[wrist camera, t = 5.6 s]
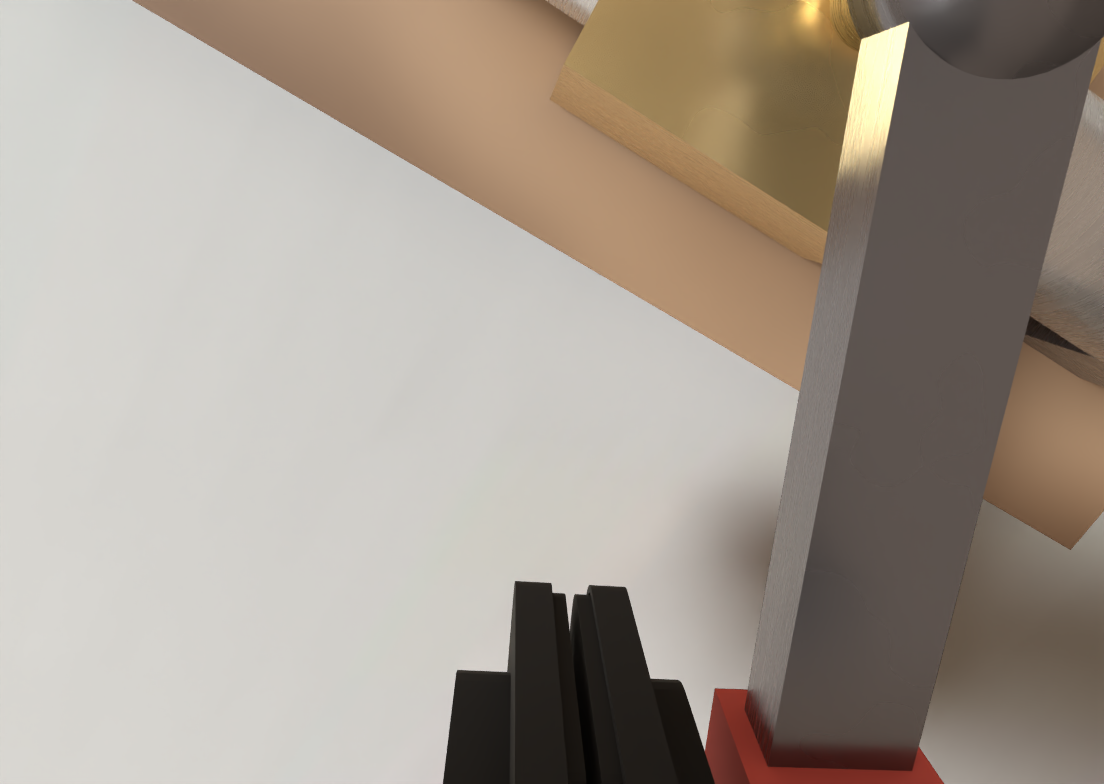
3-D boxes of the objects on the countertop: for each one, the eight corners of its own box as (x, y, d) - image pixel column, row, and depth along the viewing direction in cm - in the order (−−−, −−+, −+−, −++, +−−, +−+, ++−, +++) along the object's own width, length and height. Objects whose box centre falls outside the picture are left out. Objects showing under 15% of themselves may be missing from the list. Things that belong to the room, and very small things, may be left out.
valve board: (259, -627, 13) (-232, -2105, 4) (1312, 177, 17) (2036, 187, 9) (54, -52, 15) (-520, -319, 7) (1030, 521, 20) (1399, 780, 11)
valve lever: (852, -175, 7) (951, -277, 6) (1082, -150, 8) (1246, -243, 6) (672, 955, 12) (697, 1090, 10) (820, 957, 12) (871, 1091, 10)
